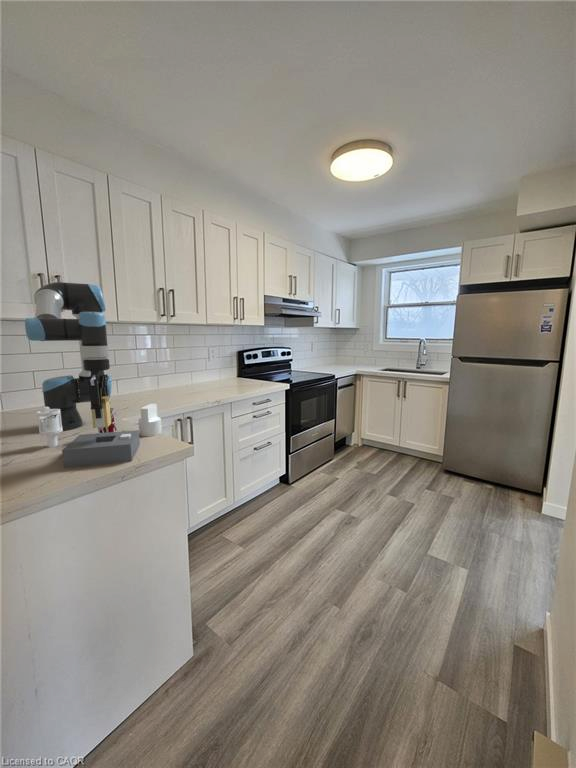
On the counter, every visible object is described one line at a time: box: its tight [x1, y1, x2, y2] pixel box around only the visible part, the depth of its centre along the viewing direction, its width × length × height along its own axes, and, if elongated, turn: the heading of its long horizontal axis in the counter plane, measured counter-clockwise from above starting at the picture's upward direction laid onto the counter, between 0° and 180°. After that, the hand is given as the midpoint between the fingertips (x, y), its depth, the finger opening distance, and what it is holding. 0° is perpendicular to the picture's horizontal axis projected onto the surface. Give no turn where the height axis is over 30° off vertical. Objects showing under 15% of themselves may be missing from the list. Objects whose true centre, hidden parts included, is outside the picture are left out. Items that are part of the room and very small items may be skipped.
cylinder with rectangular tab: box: [138, 403, 163, 437], centre depth 135 cm, size 9×9×12 cm
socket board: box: [61, 429, 141, 468], centre depth 110 cm, size 16×20×7 cm
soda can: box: [97, 407, 118, 433], centre depth 129 cm, size 7×7×12 cm
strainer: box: [36, 406, 63, 448], centre depth 119 cm, size 7×7×15 cm
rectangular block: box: [90, 396, 111, 429], centre depth 108 cm, size 4×4×10 cm
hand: (102, 424), depth 109 cm, fingers closed on rectangular block, 4 cm apart
